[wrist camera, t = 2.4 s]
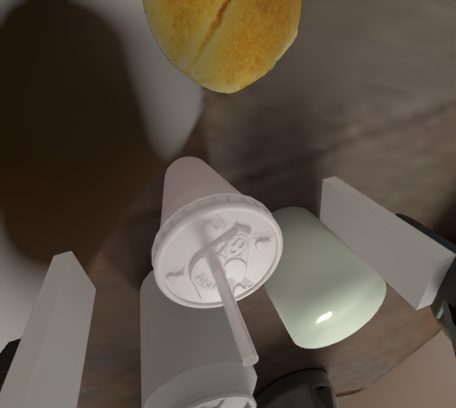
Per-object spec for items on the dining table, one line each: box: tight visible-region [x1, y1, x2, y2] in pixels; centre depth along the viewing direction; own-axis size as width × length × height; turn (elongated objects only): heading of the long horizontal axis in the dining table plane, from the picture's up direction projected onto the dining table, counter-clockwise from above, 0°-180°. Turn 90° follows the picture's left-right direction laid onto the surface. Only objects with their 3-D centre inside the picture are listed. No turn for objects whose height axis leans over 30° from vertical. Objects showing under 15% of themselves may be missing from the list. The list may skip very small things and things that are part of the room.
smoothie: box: [151, 157, 283, 366], centre depth 14 cm, size 6×6×14 cm
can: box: [140, 269, 257, 408], centre depth 20 cm, size 8×8×12 cm
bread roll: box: [143, 0, 302, 93], centre depth 14 cm, size 8×9×4 cm
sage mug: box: [262, 207, 386, 349], centre depth 23 cm, size 10×8×9 cm
